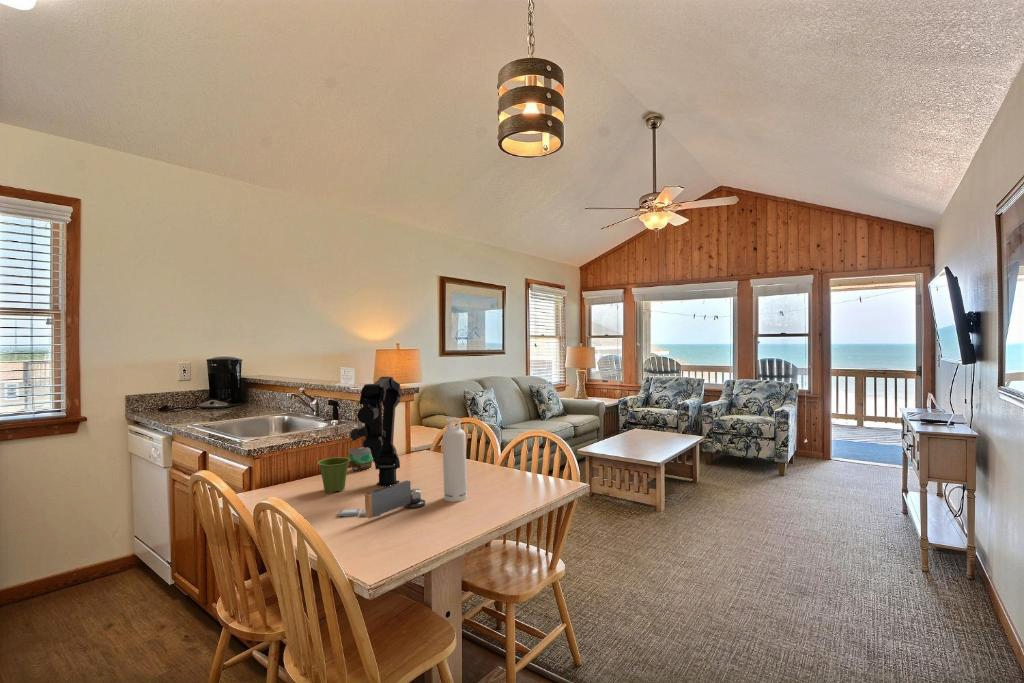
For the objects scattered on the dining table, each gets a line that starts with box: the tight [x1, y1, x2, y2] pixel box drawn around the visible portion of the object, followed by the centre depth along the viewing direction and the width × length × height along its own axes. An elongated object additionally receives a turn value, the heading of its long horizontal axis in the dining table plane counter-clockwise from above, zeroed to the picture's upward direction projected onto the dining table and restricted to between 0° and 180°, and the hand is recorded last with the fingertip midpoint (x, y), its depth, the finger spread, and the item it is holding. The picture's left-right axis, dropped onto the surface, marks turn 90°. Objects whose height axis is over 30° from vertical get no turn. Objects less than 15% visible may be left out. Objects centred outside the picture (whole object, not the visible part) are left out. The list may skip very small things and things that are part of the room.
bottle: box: [442, 417, 468, 503], centre depth 177 cm, size 8×8×28 cm
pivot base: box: [404, 498, 426, 510], centre depth 170 cm, size 7×7×1 cm
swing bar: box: [364, 479, 422, 519], centre depth 163 cm, size 22×4×8 cm, turn 143°
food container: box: [348, 446, 373, 472], centre depth 220 cm, size 12×6×10 cm, turn 147°
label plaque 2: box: [360, 509, 379, 517], centre depth 162 cm, size 4×6×1 cm, turn 100°
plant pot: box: [317, 456, 351, 493], centre depth 190 cm, size 12×12×11 cm
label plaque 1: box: [338, 508, 361, 518], centre depth 163 cm, size 4×6×1 cm, turn 100°
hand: (375, 461), depth 180 cm, fingers closed
